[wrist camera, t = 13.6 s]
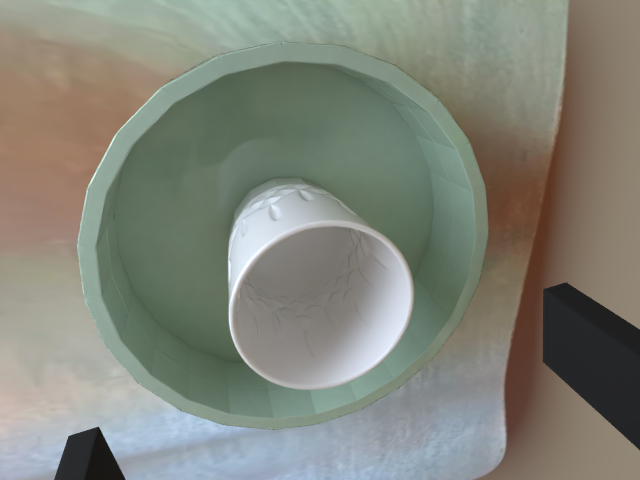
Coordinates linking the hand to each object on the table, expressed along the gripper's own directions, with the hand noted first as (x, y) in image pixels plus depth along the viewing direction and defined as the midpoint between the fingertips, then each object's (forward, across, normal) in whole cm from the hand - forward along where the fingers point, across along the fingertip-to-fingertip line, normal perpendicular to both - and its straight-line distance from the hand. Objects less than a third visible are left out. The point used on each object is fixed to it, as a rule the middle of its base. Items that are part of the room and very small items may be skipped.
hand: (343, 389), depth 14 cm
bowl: (+17, +1, -1) cm, 17 cm away
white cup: (+16, +1, -1) cm, 16 cm away
